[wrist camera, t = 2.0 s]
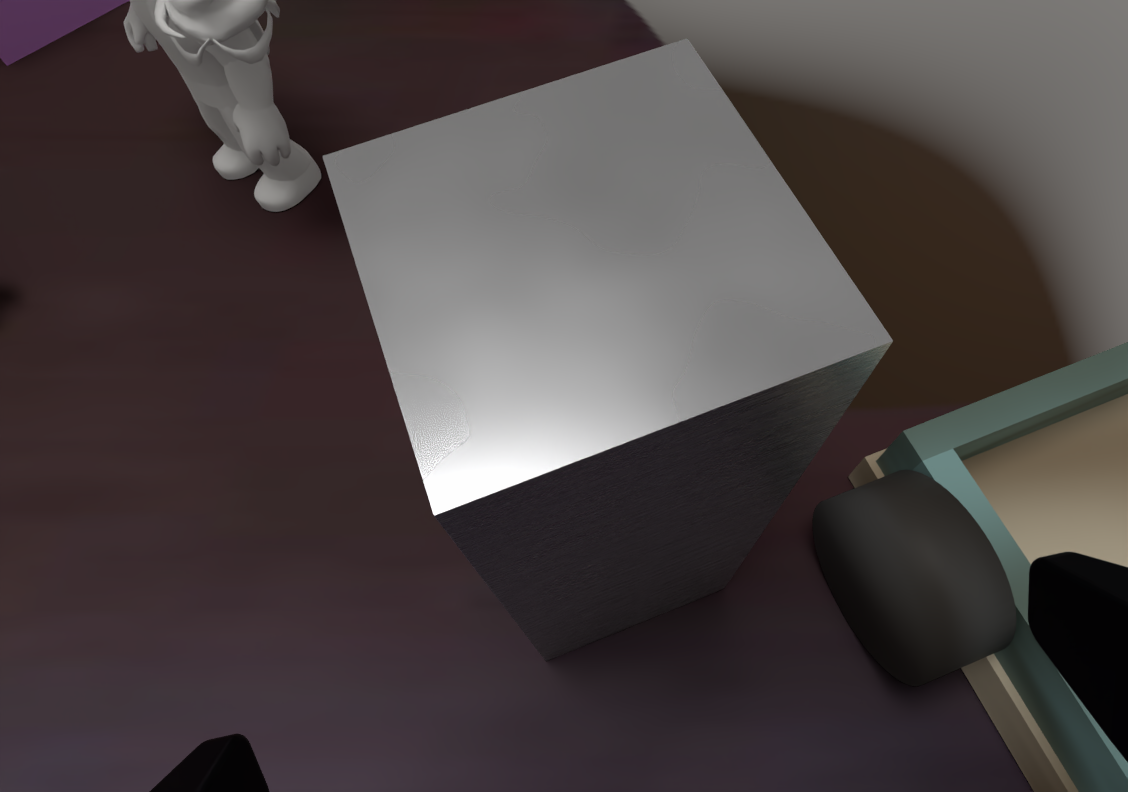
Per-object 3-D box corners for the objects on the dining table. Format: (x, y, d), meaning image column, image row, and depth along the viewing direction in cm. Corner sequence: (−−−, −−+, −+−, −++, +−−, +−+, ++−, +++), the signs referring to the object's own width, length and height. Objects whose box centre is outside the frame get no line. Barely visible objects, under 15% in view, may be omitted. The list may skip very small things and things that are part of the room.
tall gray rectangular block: (724, 588, 19) (893, 340, 8) (545, 661, 19) (434, 516, 7) (647, 426, 21) (687, 38, 10) (485, 487, 21) (322, 156, 9)
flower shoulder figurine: (390, 200, 26) (228, -199, 15) (302, 269, 25) (58, -106, 14) (243, 81, 29) (21, -320, 18) (158, 138, 28) (-132, -252, 17)
